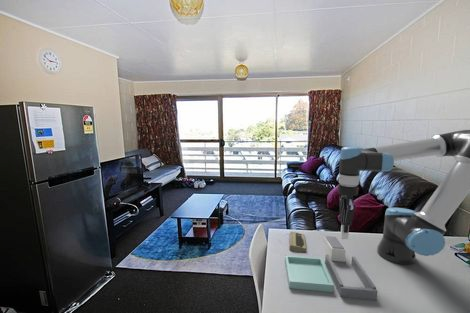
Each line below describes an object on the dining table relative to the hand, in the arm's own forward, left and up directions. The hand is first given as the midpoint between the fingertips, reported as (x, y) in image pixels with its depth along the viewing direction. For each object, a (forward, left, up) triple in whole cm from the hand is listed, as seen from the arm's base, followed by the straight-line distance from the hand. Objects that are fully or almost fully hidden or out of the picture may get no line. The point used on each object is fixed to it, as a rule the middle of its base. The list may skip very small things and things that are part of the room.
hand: (344, 238), depth 102 cm
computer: (+16, -19, -14) cm, 29 cm away
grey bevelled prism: (0, -11, -14) cm, 18 cm away
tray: (+16, +7, -13) cm, 22 cm away
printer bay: (0, +7, -13) cm, 15 cm away
